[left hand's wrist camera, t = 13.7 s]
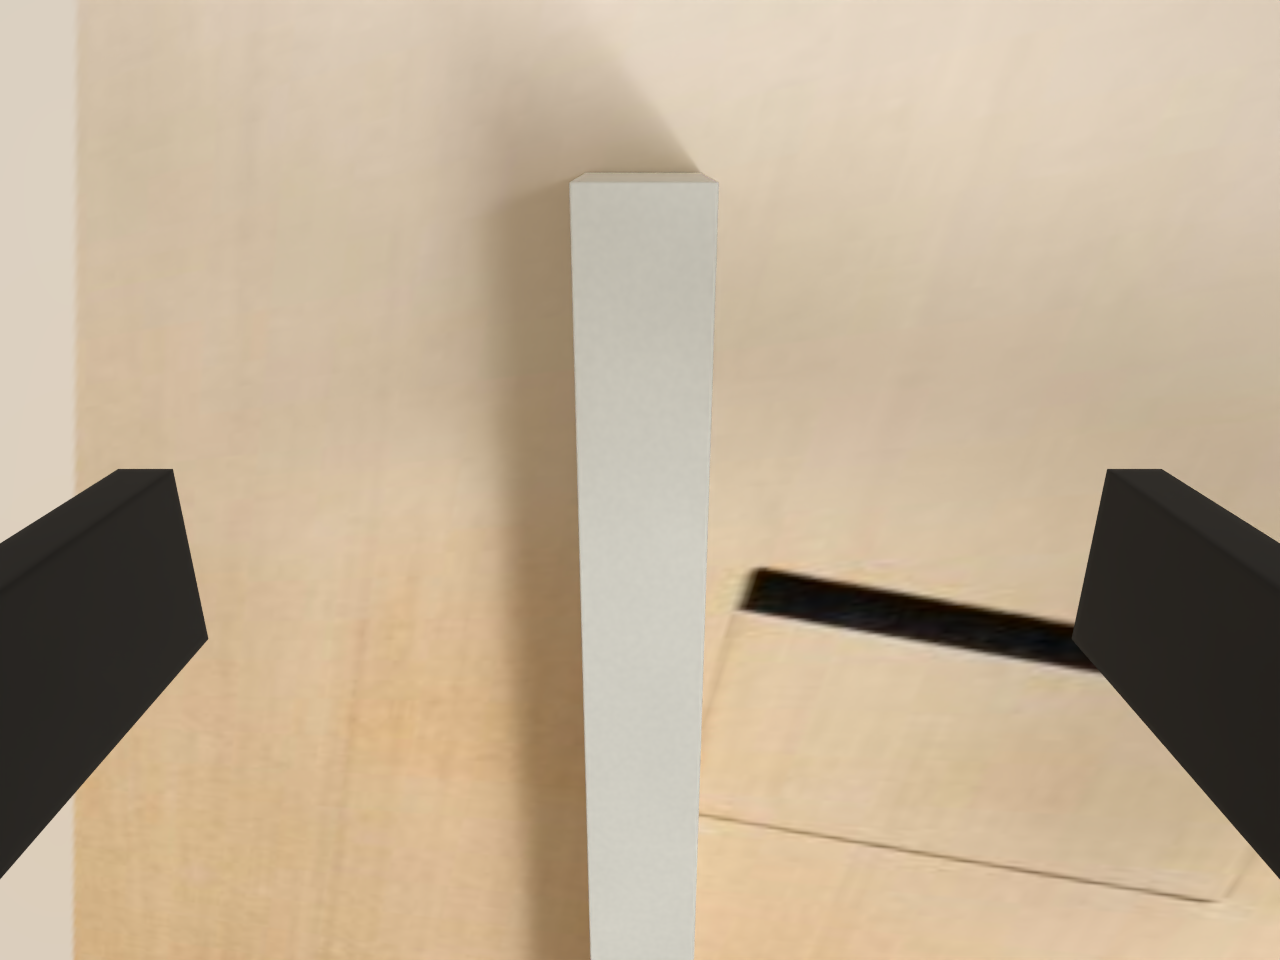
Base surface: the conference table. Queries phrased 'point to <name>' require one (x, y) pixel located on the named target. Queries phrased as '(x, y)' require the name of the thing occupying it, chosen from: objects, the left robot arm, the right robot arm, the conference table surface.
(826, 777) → the conference table surface
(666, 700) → the post
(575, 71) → the conference table surface
